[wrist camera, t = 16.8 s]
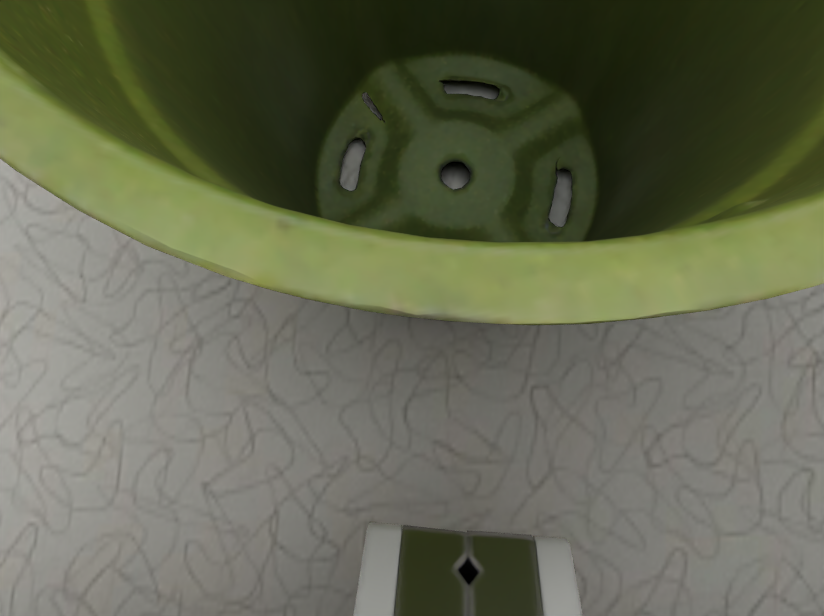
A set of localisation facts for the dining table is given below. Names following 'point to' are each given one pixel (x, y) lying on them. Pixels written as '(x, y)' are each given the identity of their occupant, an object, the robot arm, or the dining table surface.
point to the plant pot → (439, 146)
